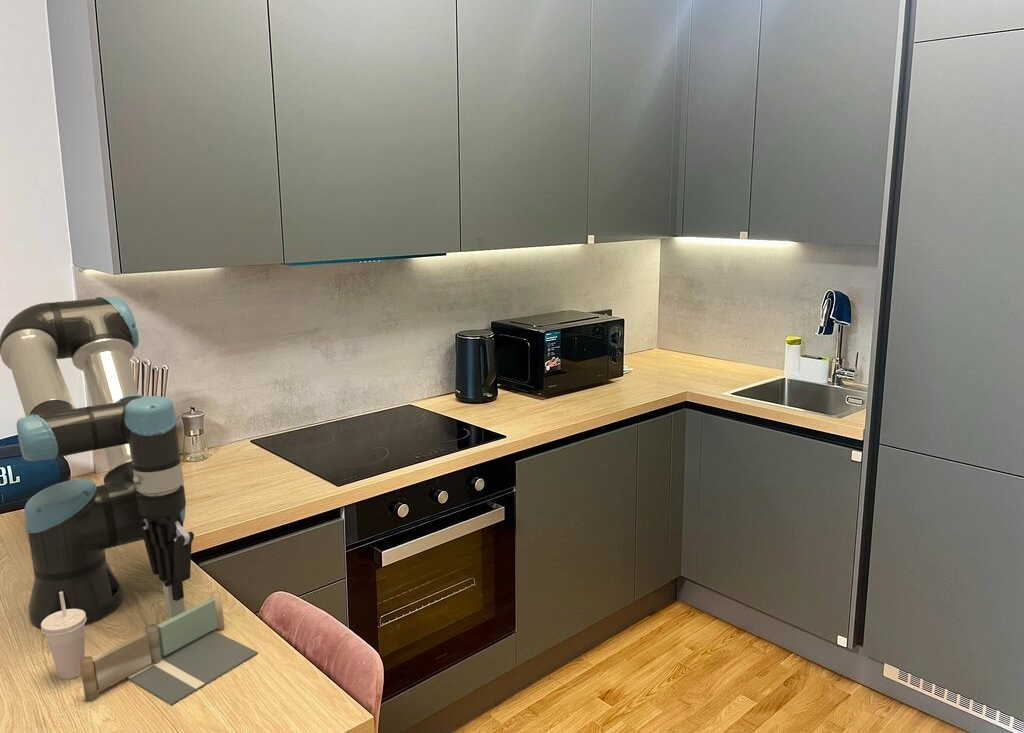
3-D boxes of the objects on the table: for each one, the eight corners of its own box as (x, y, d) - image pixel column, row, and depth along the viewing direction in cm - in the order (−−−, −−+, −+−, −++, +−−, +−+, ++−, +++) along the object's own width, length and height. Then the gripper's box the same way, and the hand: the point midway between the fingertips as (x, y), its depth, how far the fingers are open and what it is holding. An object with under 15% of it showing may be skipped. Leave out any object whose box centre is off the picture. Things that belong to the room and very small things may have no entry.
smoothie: (101, 660, 135) (89, 583, 132) (83, 684, 129) (69, 604, 126) (61, 661, 135) (48, 584, 132) (41, 685, 129) (27, 605, 125)
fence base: (82, 698, 125) (76, 660, 124) (157, 657, 135) (152, 622, 134) (89, 703, 124) (83, 664, 123) (164, 661, 134) (160, 626, 133)
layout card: (99, 662, 135) (99, 660, 134) (185, 618, 147) (185, 616, 147) (171, 705, 124) (171, 703, 123) (258, 653, 136) (257, 651, 136)
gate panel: (165, 658, 135) (161, 625, 133) (159, 654, 136) (154, 621, 134) (226, 625, 144) (223, 593, 142) (220, 622, 145) (216, 590, 143)
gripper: (117, 487, 139) (135, 613, 144) (162, 504, 132) (179, 635, 137) (157, 474, 145) (173, 594, 150) (202, 488, 138) (217, 615, 143)
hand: (176, 614), depth 144 cm, fingers closed
